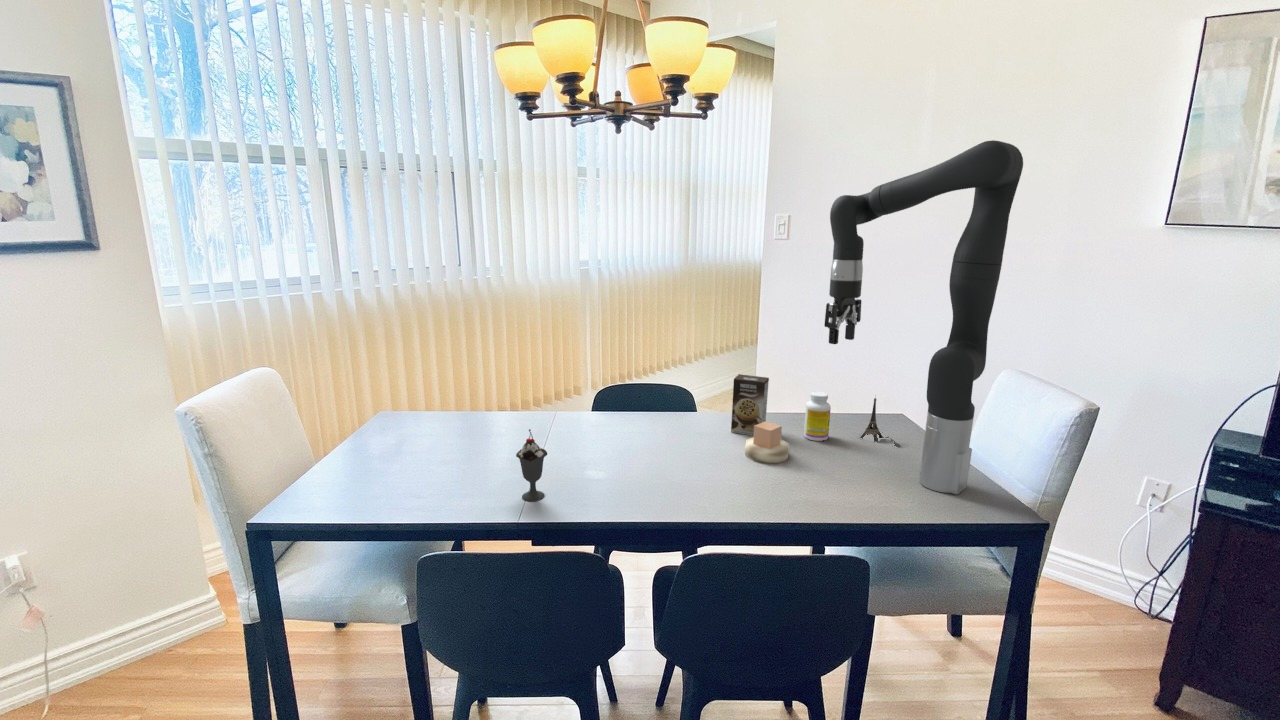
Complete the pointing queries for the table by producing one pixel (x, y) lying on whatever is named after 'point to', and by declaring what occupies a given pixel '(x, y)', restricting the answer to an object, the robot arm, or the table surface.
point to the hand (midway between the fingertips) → (841, 341)
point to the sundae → (532, 467)
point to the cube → (767, 435)
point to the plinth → (766, 452)
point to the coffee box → (749, 403)
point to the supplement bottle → (817, 417)
